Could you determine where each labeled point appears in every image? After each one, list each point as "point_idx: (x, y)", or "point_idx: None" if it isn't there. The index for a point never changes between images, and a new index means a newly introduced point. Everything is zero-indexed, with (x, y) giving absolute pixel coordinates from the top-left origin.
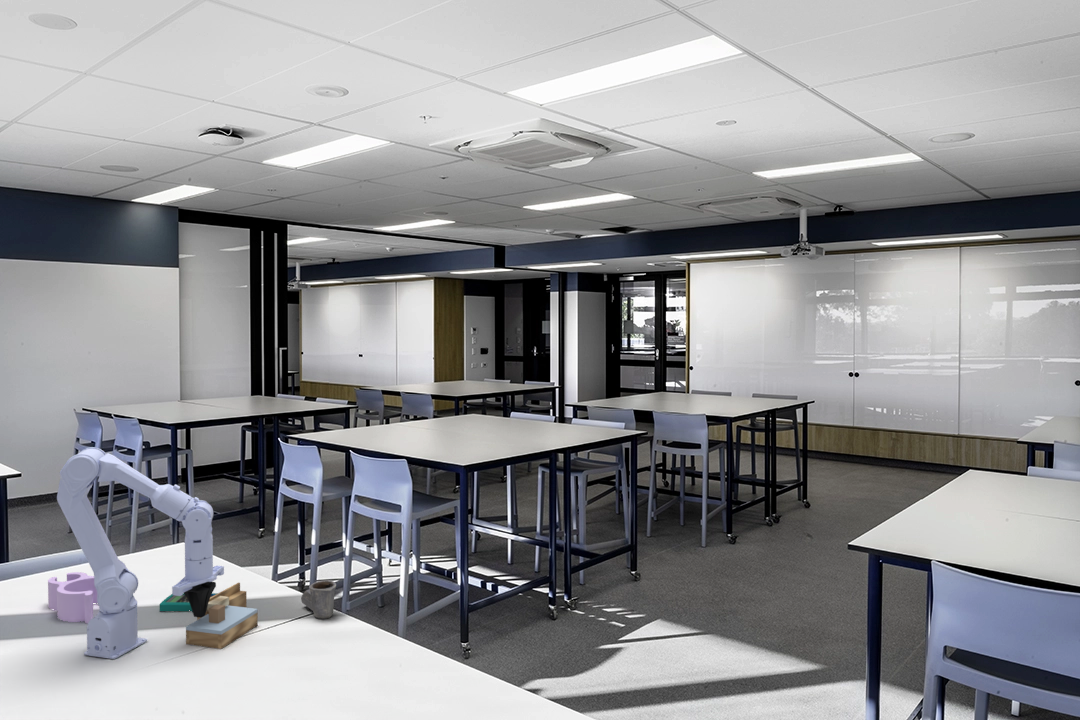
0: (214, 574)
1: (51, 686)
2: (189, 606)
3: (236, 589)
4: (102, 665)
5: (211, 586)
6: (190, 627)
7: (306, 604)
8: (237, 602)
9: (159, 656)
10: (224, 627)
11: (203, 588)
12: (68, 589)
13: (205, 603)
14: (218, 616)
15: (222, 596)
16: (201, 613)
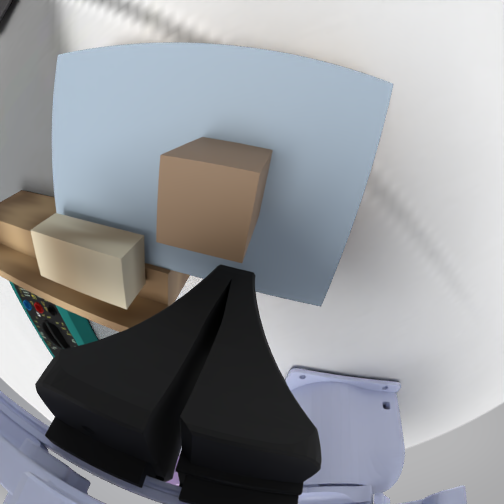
0: (4, 487)
1: (474, 398)
2: (84, 338)
3: None
4: (421, 384)
5: (127, 411)
6: (329, 283)
7: (2, 6)
8: (22, 212)
9: (409, 299)
10: (336, 81)
11: (224, 459)
12: (167, 482)
13: (211, 313)
14: (261, 158)
15: (39, 263)
16: (254, 287)
